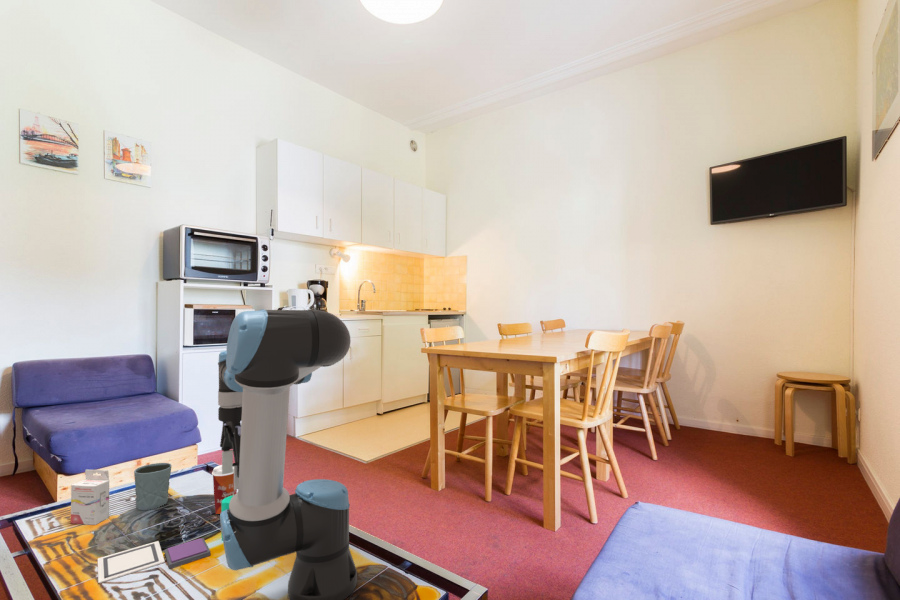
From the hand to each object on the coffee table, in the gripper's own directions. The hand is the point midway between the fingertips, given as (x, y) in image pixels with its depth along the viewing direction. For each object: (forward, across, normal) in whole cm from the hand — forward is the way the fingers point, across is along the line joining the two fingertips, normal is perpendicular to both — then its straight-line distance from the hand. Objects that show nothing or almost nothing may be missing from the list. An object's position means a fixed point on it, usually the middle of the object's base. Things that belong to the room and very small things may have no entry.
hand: (233, 480), depth 122 cm
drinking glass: (+16, +40, +15) cm, 45 cm away
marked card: (+16, +4, +23) cm, 28 cm away
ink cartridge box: (+16, +38, +31) cm, 52 cm away
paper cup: (+16, +18, -2) cm, 24 cm away
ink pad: (+15, -2, +12) cm, 19 cm away
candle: (+16, 0, 0) cm, 16 cm away
